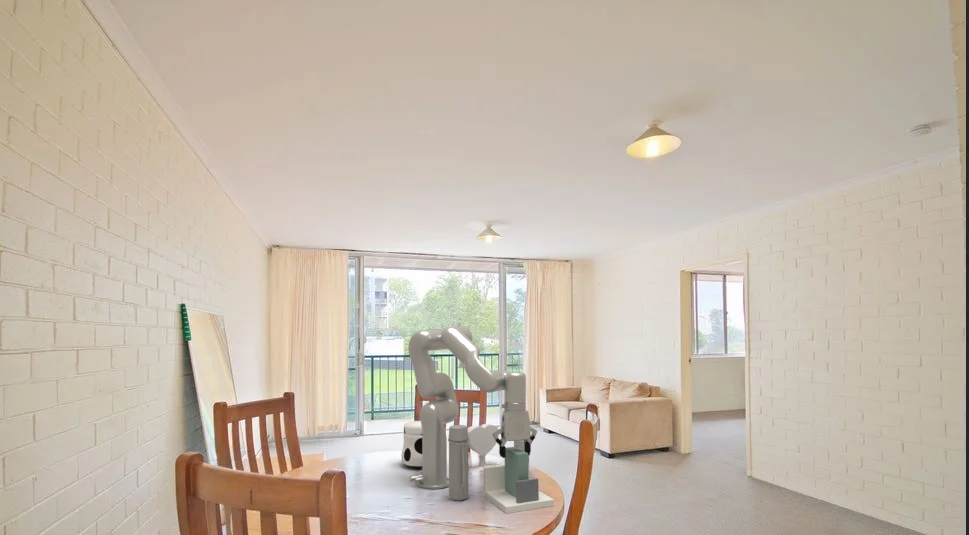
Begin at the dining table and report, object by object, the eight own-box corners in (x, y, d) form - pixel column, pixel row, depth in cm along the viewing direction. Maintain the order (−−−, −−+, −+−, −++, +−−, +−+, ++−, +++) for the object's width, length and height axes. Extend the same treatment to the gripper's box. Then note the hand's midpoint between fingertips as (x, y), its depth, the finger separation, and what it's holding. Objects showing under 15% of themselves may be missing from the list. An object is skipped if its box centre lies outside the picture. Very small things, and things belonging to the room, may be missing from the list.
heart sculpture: (493, 463, 235) (493, 422, 237) (500, 466, 231) (499, 424, 233) (464, 469, 226) (463, 426, 228) (470, 472, 222) (470, 428, 224)
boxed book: (518, 499, 181) (517, 454, 183) (504, 490, 191) (504, 447, 193) (528, 498, 183) (528, 453, 184) (514, 489, 193) (514, 446, 194)
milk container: (402, 461, 241) (402, 420, 243) (440, 459, 243) (440, 419, 245) (400, 471, 224) (400, 428, 226) (441, 470, 226) (441, 426, 228)
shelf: (506, 513, 174) (506, 482, 175) (483, 496, 191) (483, 467, 192) (554, 505, 181) (553, 475, 182) (528, 489, 198) (527, 462, 199)
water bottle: (444, 496, 191) (444, 425, 194) (465, 493, 194) (464, 423, 197) (453, 504, 183) (453, 430, 185) (474, 501, 186) (474, 428, 188)
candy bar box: (517, 472, 222) (517, 431, 224) (529, 472, 221) (529, 432, 223) (513, 479, 211) (513, 437, 213) (526, 480, 210) (525, 437, 212)
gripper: (497, 410, 183) (497, 460, 182) (541, 407, 190) (541, 456, 188) (489, 406, 190) (488, 455, 189) (531, 404, 197) (531, 451, 195)
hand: (515, 455), depth 188 cm, fingers open, 9 cm apart
